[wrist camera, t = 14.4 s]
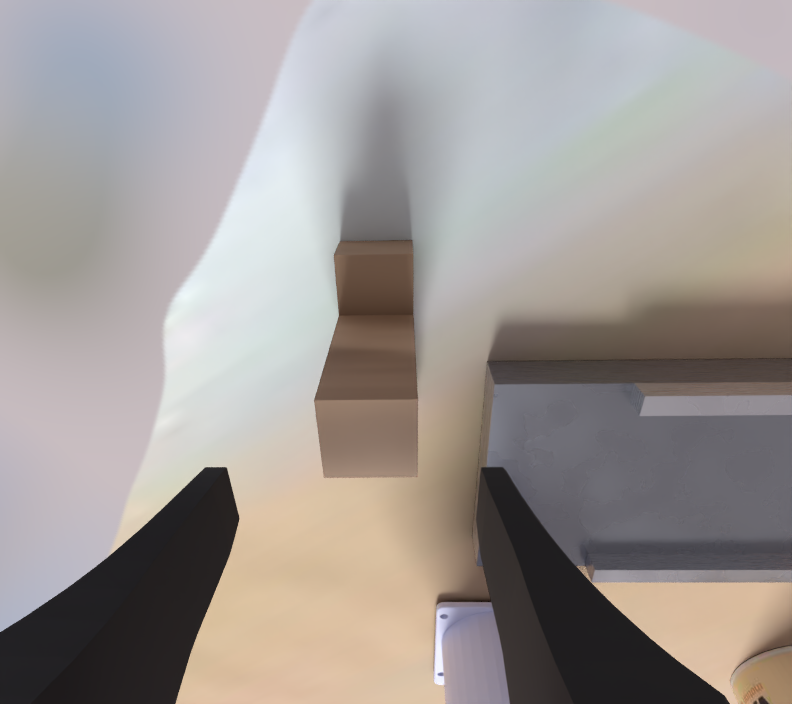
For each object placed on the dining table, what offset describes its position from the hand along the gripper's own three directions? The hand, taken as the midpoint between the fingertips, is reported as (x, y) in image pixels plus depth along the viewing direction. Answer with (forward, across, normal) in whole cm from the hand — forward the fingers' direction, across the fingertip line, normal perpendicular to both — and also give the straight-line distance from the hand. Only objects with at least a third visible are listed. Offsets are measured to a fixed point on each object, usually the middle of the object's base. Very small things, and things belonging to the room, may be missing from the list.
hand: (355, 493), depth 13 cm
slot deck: (+9, -15, +7) cm, 19 cm away
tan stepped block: (+9, 0, -1) cm, 9 cm away
